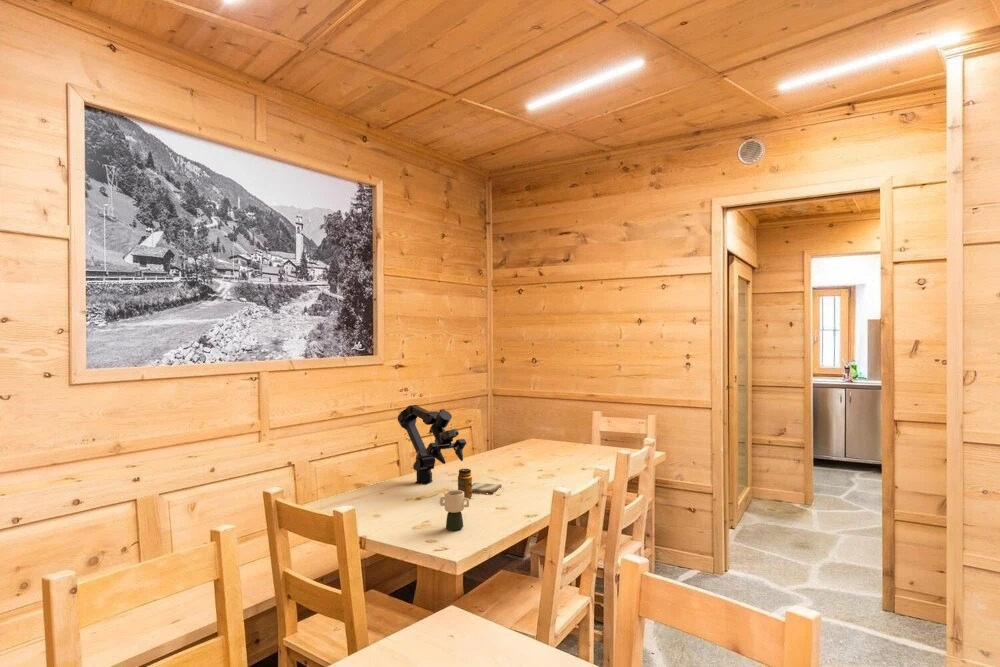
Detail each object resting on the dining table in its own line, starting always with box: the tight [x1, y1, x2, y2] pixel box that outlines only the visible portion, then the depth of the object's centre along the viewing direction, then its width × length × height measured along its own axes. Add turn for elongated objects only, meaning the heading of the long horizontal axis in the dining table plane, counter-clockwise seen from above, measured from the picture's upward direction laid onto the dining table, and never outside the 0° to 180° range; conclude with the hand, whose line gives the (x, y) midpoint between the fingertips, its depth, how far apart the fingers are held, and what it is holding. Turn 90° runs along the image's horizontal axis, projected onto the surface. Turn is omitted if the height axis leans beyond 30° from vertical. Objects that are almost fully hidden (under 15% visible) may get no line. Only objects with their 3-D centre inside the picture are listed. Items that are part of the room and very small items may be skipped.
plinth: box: [472, 482, 503, 495], centre depth 259 cm, size 13×13×2 cm
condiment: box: [457, 468, 473, 498], centre depth 246 cm, size 7×8×12 cm
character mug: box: [439, 489, 470, 531], centre depth 205 cm, size 11×7×13 cm, turn 78°
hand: (453, 462), depth 253 cm, fingers open, 9 cm apart
